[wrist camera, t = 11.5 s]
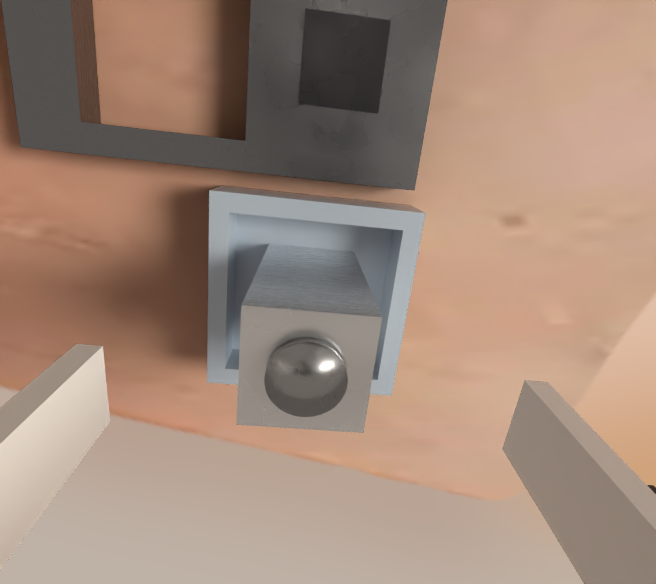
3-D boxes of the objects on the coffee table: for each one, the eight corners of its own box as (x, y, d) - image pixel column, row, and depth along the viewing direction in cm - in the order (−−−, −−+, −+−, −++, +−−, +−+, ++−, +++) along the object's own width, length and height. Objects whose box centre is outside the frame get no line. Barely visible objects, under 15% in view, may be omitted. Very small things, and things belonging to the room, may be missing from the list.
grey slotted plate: (16, -109, 18) (-20, -141, 16) (444, -43, 20) (459, -64, 18) (45, 147, 22) (19, 146, 20) (406, 187, 23) (414, 190, 21)
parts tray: (222, 185, 23) (209, 190, 20) (411, 205, 24) (425, 213, 21) (218, 356, 26) (207, 382, 23) (382, 369, 27) (391, 395, 24)
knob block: (269, 243, 23) (238, 311, 13) (353, 251, 24) (385, 324, 14) (264, 321, 25) (233, 434, 15) (343, 328, 25) (365, 443, 15)
